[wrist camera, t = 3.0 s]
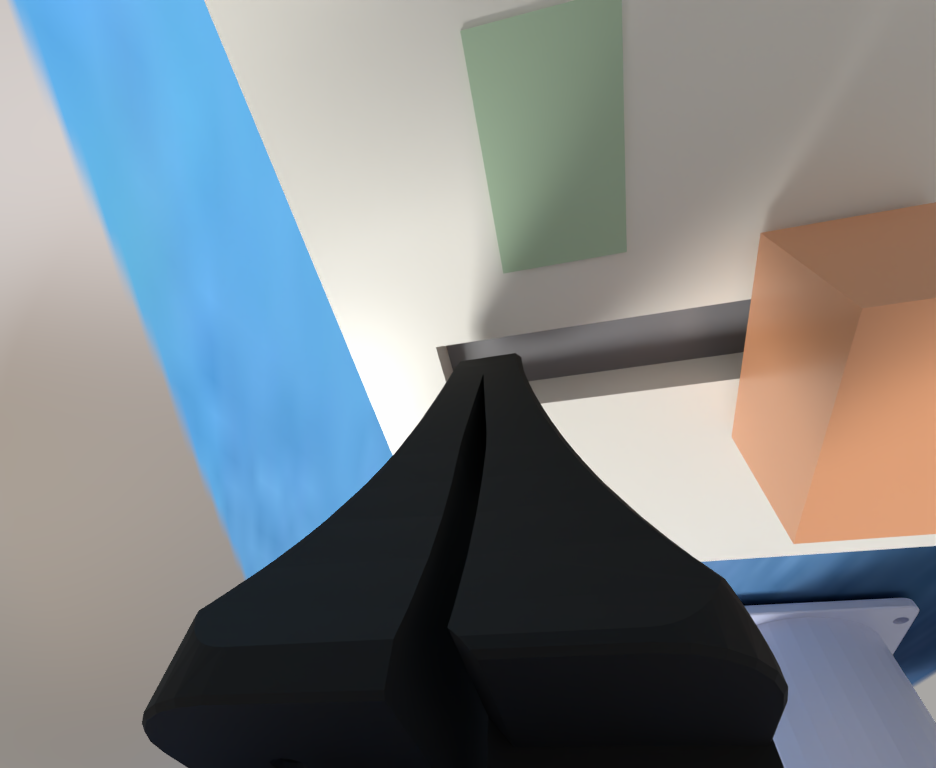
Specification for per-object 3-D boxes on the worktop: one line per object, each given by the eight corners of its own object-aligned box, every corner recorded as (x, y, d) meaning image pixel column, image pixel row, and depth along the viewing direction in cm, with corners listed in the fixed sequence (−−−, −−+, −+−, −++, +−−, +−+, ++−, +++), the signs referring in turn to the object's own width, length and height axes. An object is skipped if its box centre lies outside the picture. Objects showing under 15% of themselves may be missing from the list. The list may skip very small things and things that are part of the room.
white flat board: (1088, 475, 14) (1166, 533, 13) (449, 529, 18) (443, 581, 16) (1833, -498, 5) (2440, -745, 4) (251, -13, 9) (190, -26, 7)
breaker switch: (845, 395, 12) (977, 531, 8) (716, 410, 12) (793, 543, 9) (910, 185, 9) (1144, 267, 6) (738, 216, 9) (862, 309, 6)
